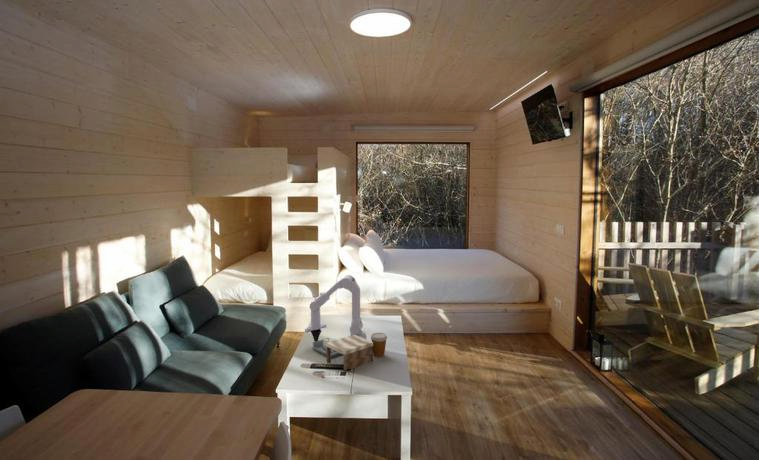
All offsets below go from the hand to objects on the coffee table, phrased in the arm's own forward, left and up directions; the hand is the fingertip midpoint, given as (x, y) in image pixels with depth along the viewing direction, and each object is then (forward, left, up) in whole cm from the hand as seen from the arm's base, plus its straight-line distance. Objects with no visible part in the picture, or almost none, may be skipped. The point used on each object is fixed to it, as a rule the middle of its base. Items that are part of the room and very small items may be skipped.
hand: (316, 341), depth 275 cm
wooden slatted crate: (0, +33, -2) cm, 33 cm away
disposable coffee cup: (-18, +38, -3) cm, 42 cm away
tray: (0, +14, -2) cm, 14 cm away
